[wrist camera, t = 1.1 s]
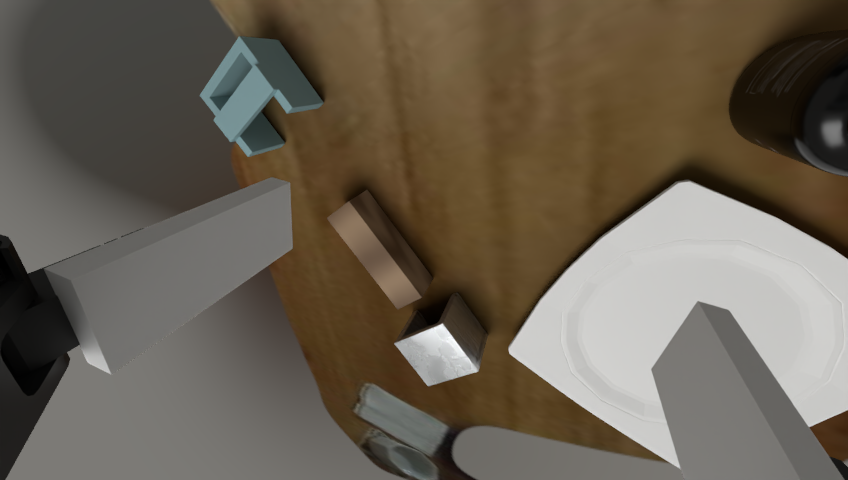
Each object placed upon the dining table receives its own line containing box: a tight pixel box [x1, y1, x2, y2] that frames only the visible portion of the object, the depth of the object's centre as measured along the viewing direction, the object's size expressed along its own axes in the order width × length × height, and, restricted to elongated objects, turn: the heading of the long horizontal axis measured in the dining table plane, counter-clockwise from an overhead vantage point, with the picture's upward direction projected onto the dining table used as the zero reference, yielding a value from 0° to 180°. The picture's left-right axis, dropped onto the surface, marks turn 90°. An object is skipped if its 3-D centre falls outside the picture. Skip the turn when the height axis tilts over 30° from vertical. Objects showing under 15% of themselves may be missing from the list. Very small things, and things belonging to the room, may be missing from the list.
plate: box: [509, 180, 848, 469], centre depth 32 cm, size 24×24×3 cm
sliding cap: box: [200, 36, 323, 157], centre depth 33 cm, size 7×8×5 cm
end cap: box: [394, 293, 488, 386], centre depth 38 cm, size 6×7×6 cm
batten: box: [327, 190, 433, 309], centre depth 37 cm, size 12×4×4 cm, turn 38°
